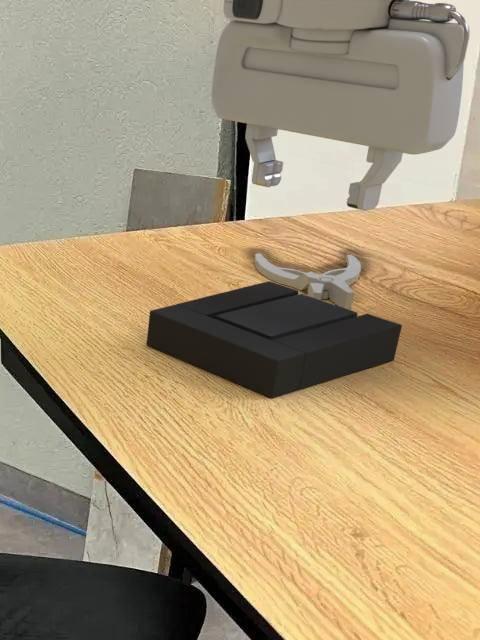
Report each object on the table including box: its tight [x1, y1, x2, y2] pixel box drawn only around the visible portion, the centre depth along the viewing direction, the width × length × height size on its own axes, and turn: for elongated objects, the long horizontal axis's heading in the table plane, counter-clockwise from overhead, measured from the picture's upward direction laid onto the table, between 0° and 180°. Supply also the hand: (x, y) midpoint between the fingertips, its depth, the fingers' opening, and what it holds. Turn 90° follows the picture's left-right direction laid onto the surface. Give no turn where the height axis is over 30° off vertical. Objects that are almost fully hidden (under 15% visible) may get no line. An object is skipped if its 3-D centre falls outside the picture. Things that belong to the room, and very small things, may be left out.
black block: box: [215, 293, 358, 340], centre depth 95 cm, size 10×6×3 cm, turn 121°
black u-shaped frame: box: [146, 280, 403, 399], centre depth 94 cm, size 14×14×3 cm
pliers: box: [254, 253, 362, 311], centre depth 109 cm, size 10×2×15 cm
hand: (311, 196), depth 89 cm, fingers open, 8 cm apart
